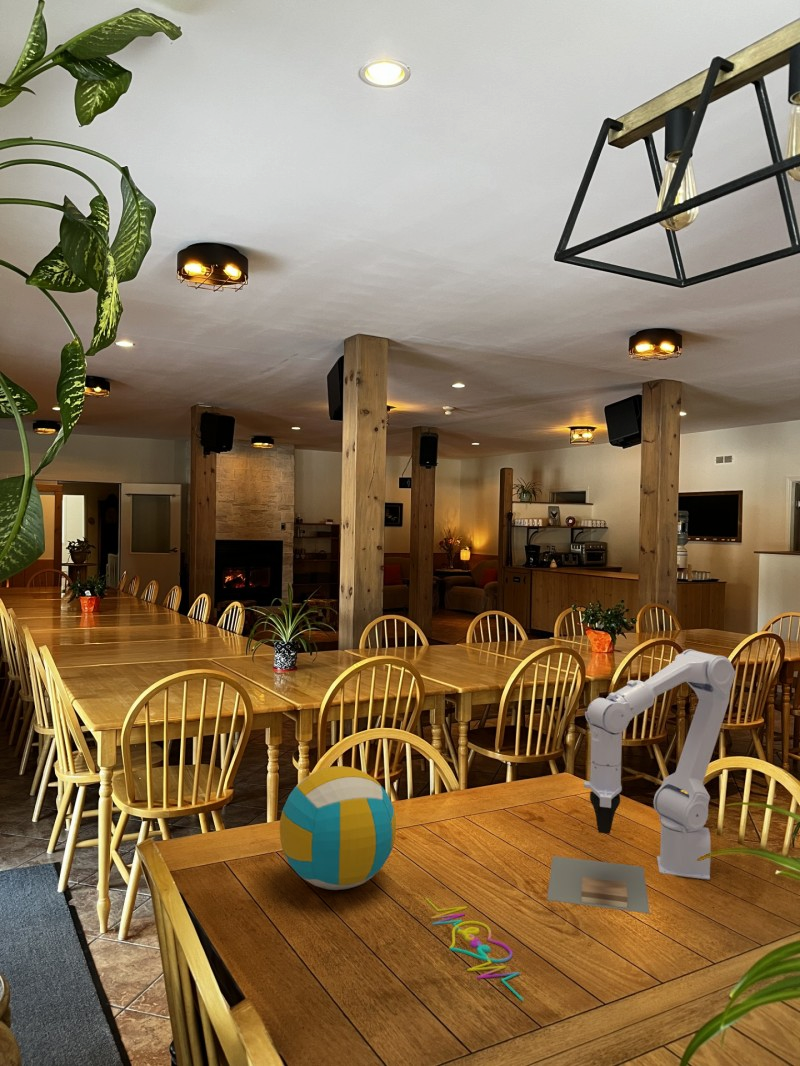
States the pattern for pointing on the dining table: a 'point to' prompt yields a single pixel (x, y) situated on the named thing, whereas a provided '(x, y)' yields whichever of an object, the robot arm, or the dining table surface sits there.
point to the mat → (570, 872)
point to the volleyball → (337, 828)
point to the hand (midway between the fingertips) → (604, 832)
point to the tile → (604, 892)
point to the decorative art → (476, 944)
